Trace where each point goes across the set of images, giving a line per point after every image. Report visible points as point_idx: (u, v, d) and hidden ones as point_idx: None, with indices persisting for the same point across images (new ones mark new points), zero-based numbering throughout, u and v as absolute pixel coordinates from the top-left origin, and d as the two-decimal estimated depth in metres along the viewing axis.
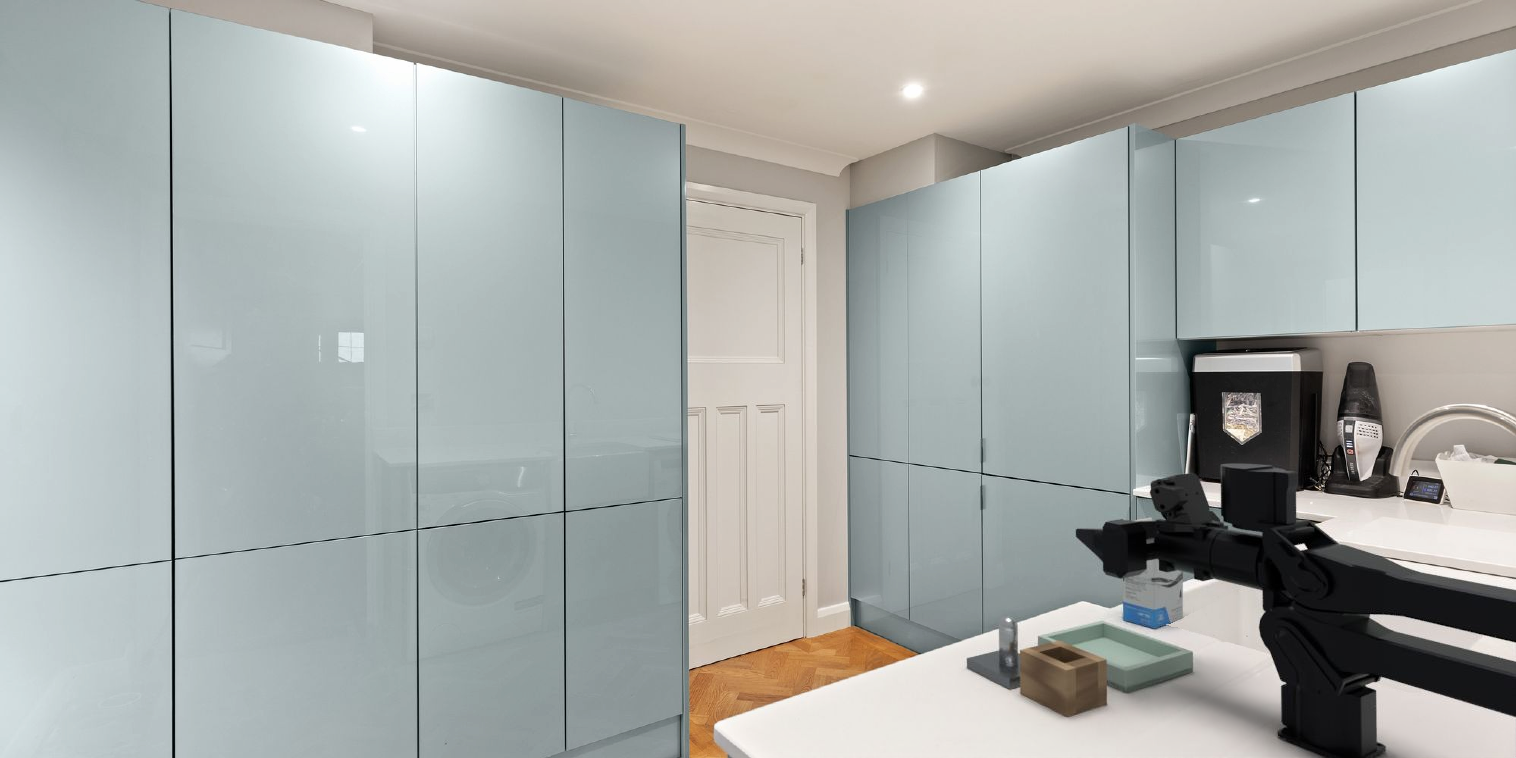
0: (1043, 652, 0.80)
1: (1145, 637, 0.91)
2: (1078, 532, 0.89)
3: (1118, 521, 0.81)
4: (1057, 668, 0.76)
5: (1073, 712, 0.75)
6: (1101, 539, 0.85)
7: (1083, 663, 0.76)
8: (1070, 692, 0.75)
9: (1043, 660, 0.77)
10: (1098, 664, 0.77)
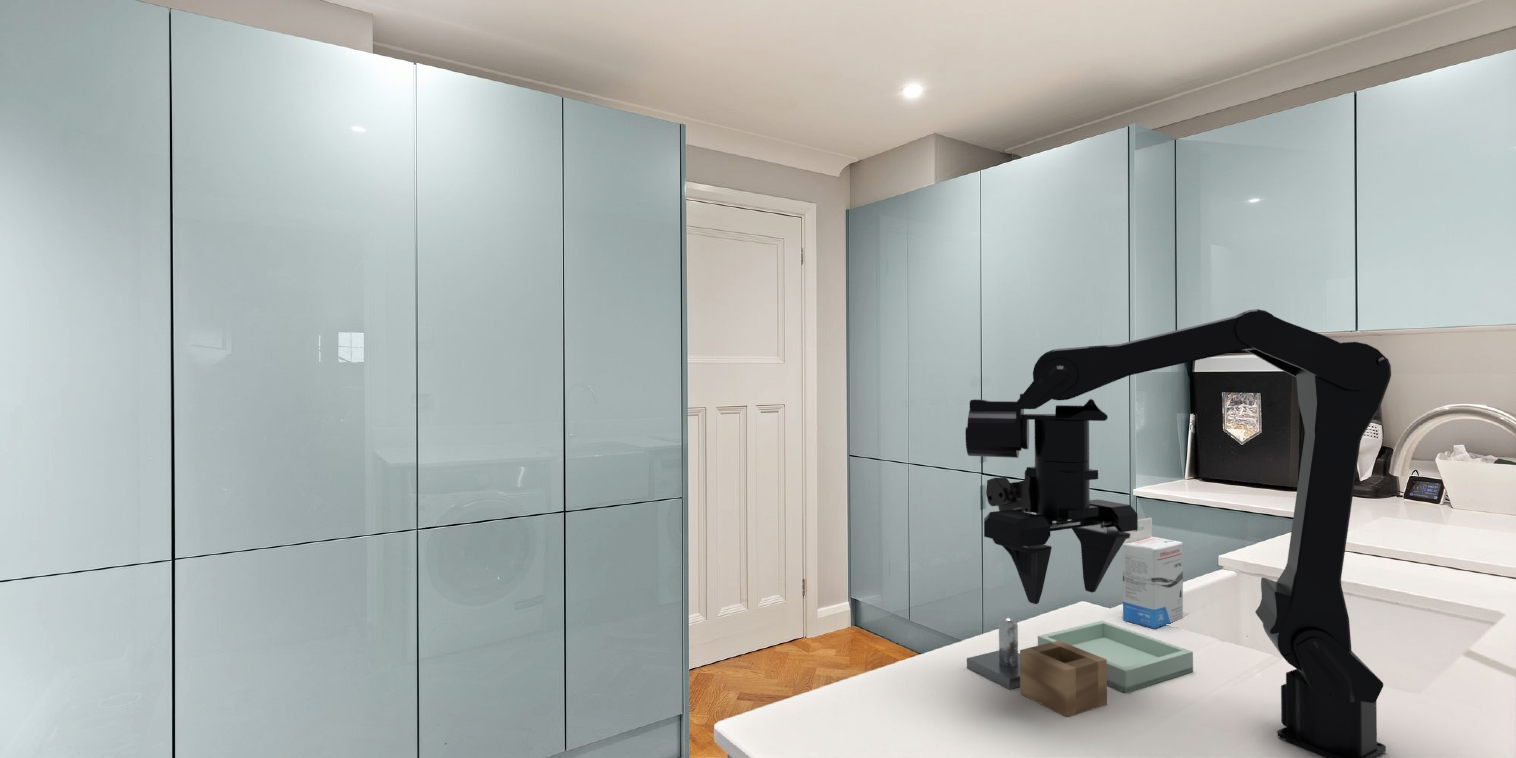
0: (1043, 652, 0.80)
1: (1145, 637, 0.91)
2: (1030, 598, 0.77)
3: None
4: (1057, 668, 0.76)
5: (1073, 712, 0.75)
6: (1024, 563, 0.77)
7: (1083, 663, 0.76)
8: (1070, 692, 0.75)
9: (1043, 660, 0.77)
10: (1098, 664, 0.77)
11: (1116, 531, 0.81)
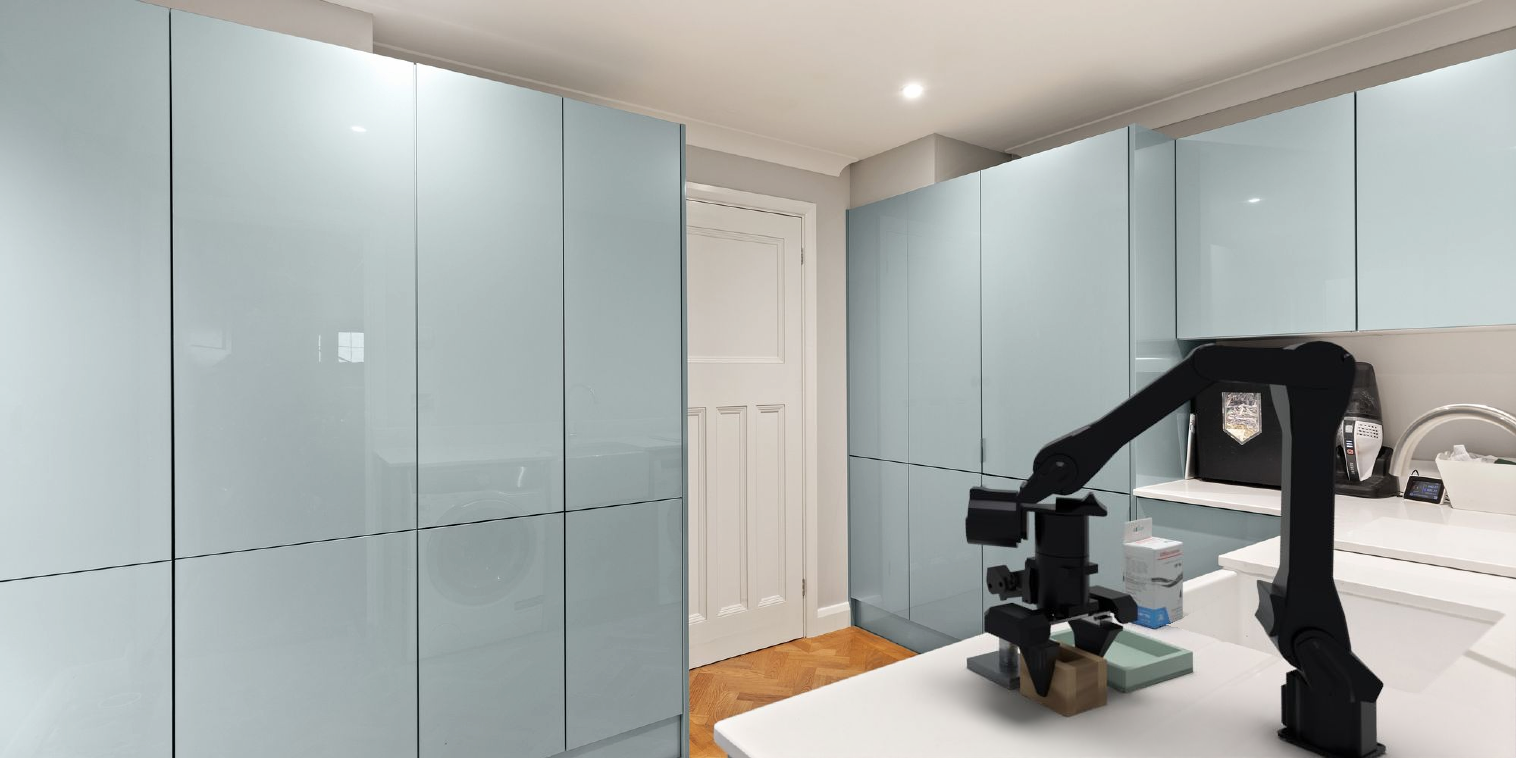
0: None
1: (1145, 637, 0.91)
2: (1038, 690, 0.77)
3: None
4: (1057, 668, 0.76)
5: (1073, 712, 0.75)
6: (1033, 657, 0.77)
7: (1083, 663, 0.76)
8: (1070, 692, 0.75)
9: None
10: (1098, 664, 0.77)
11: (1109, 623, 0.80)
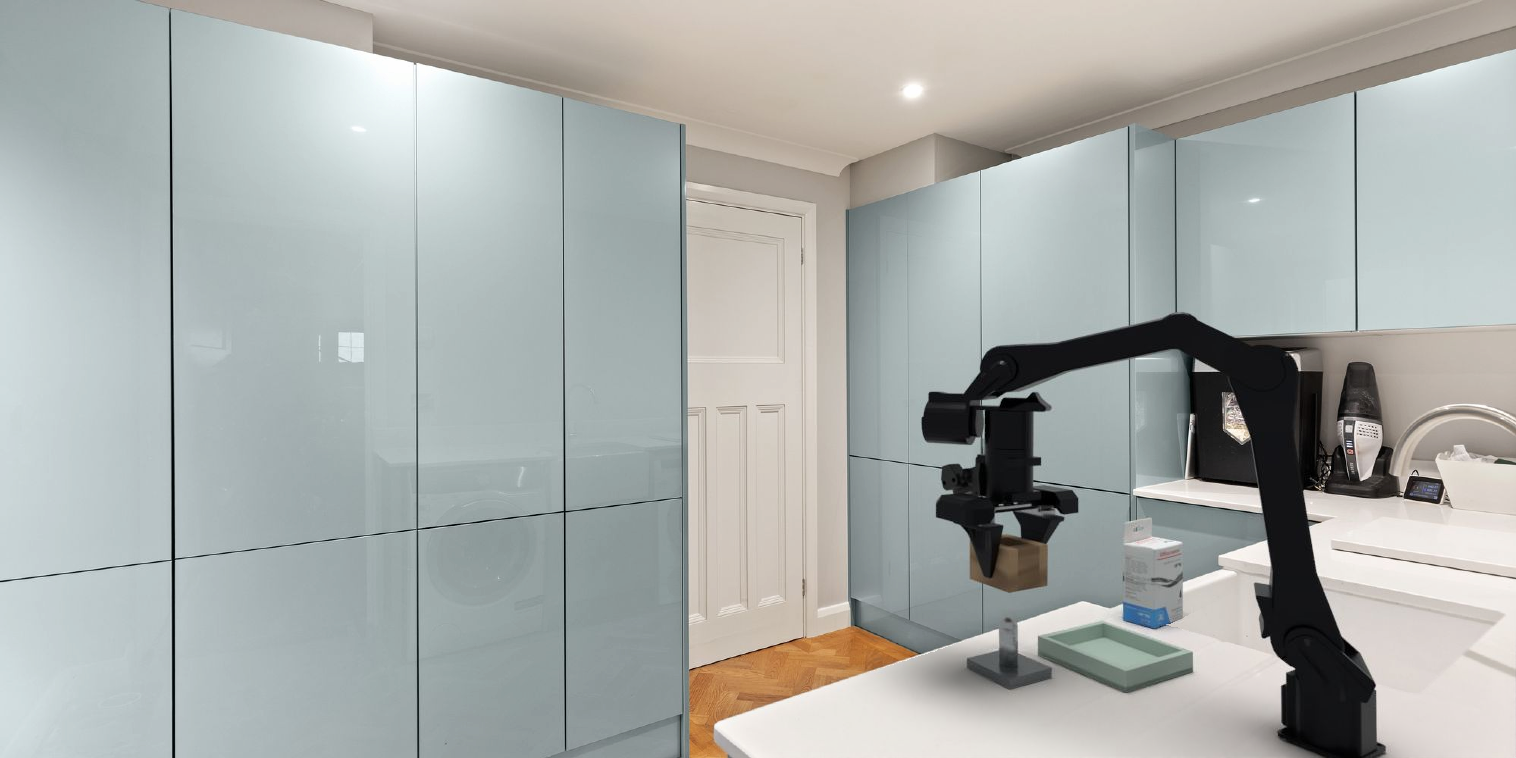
0: None
1: (1145, 637, 0.91)
2: (984, 572, 0.84)
3: None
4: (1001, 550, 0.83)
5: (1015, 589, 0.82)
6: (980, 541, 0.84)
7: (1025, 546, 0.83)
8: (1012, 570, 0.82)
9: None
10: (1039, 548, 0.84)
11: (1052, 515, 0.87)
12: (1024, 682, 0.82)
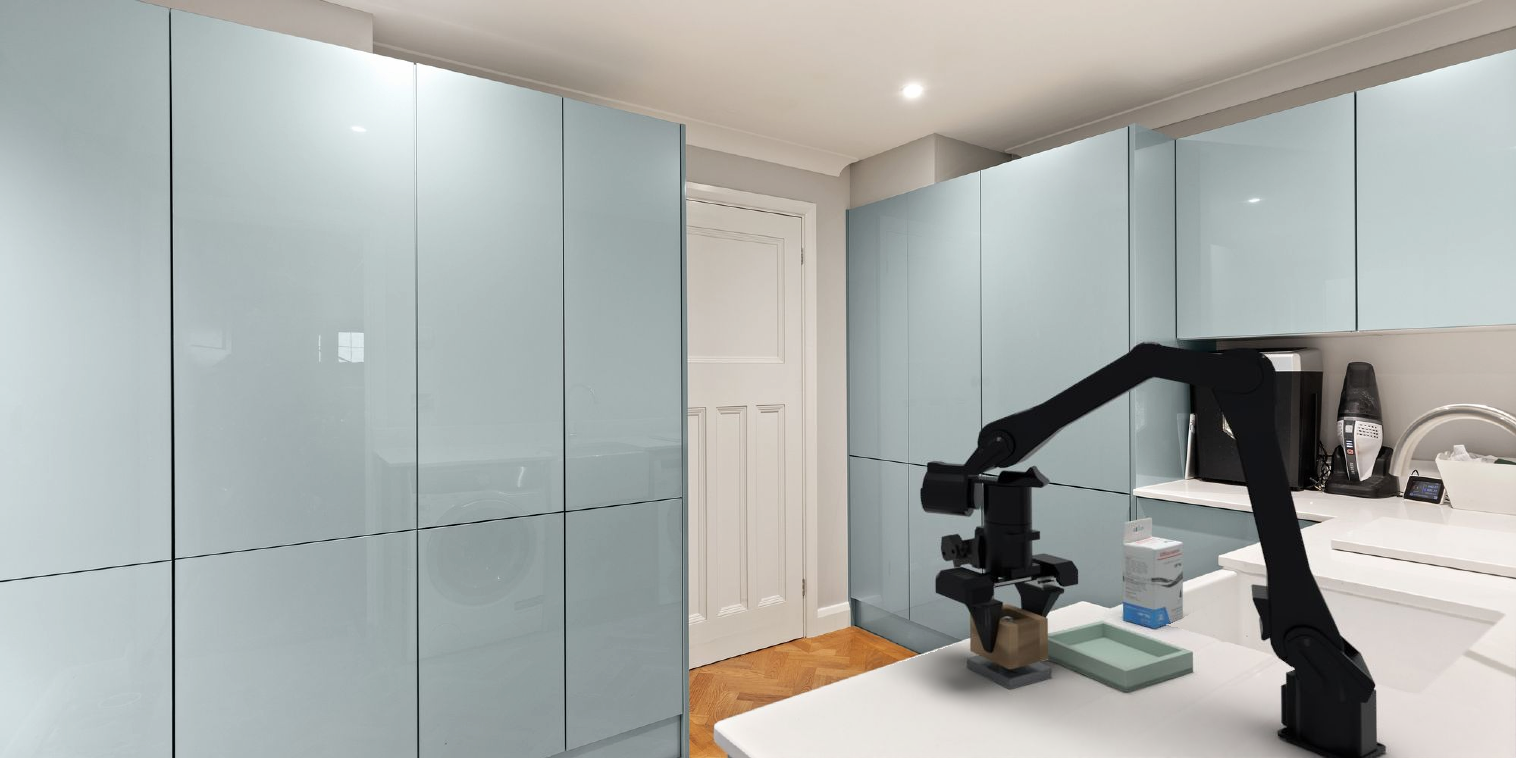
0: None
1: (1145, 637, 0.91)
2: (985, 647, 0.85)
3: None
4: (1001, 626, 0.83)
5: (1015, 665, 0.82)
6: (980, 616, 0.84)
7: (1025, 621, 0.84)
8: (1012, 647, 0.82)
9: None
10: (1039, 622, 0.84)
11: (1052, 586, 0.87)
12: (1024, 682, 0.82)
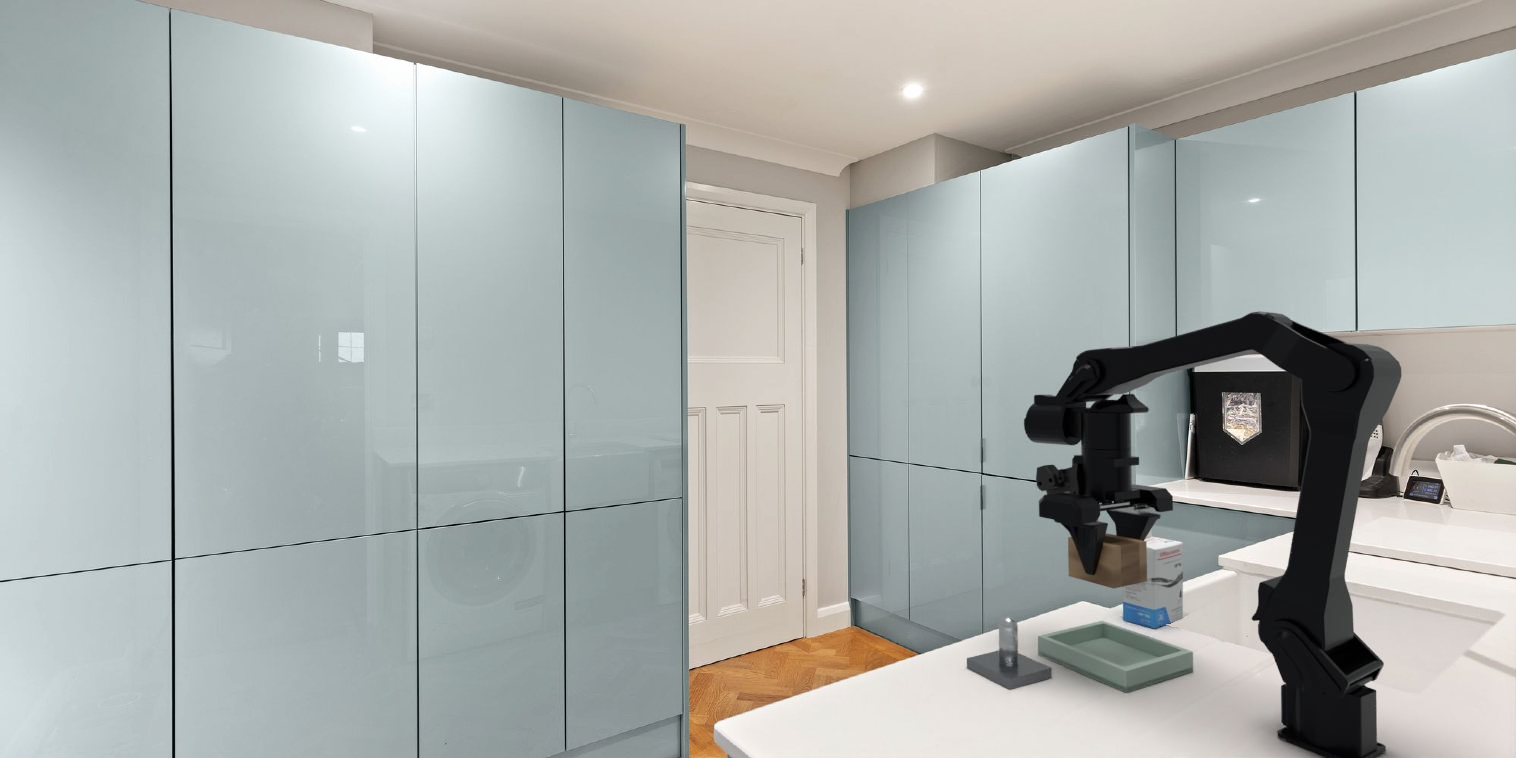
0: None
1: (1145, 637, 0.91)
2: (1087, 569, 0.87)
3: None
4: (1104, 547, 0.85)
5: (1119, 585, 0.85)
6: (1082, 539, 0.87)
7: (1126, 543, 0.86)
8: (1116, 567, 0.85)
9: None
10: (1139, 545, 0.87)
11: (1147, 513, 0.90)
12: (1024, 682, 0.82)
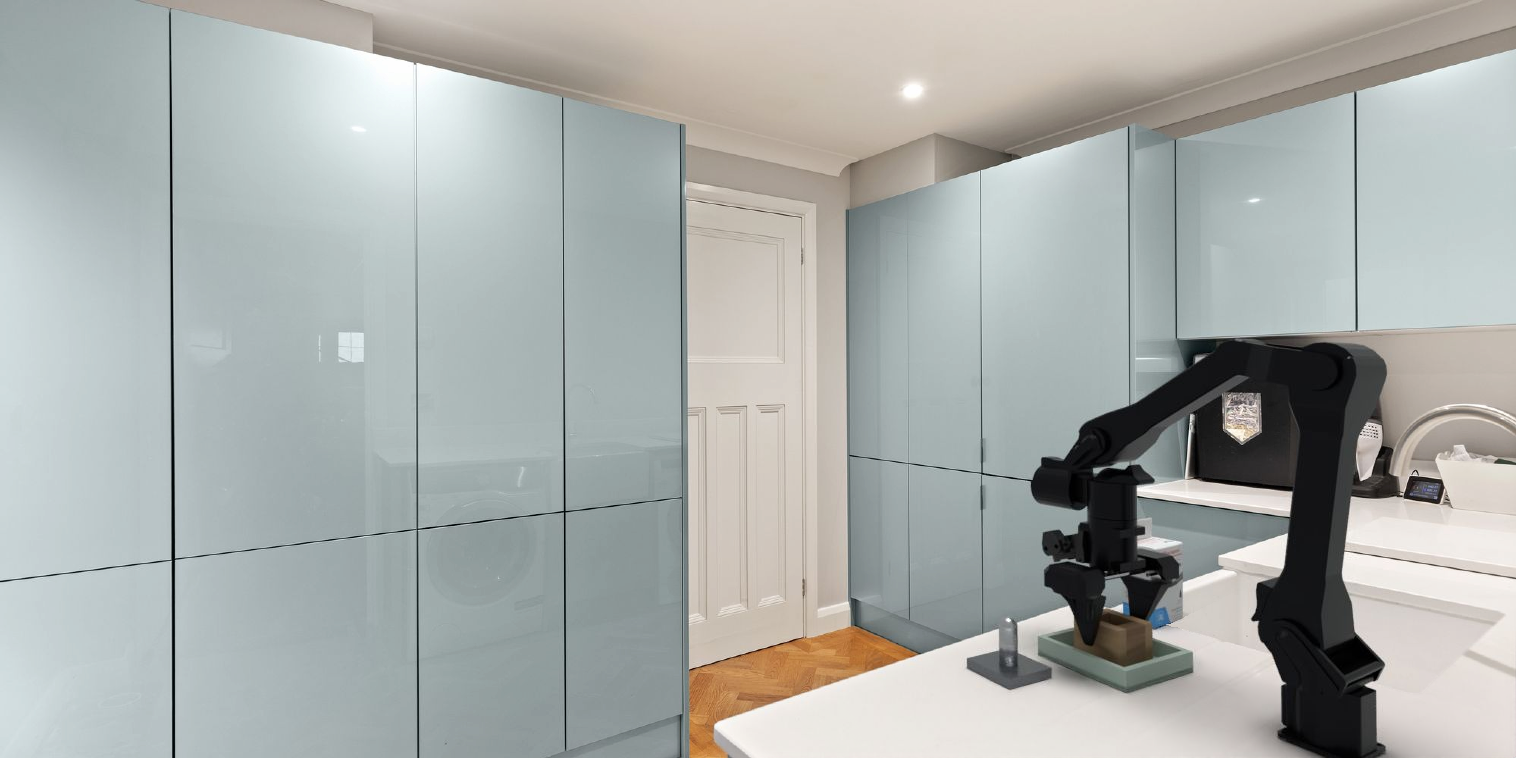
0: None
1: None
2: (1085, 640, 0.87)
3: None
4: (1109, 630, 0.86)
5: None
6: (1080, 610, 0.86)
7: (1132, 625, 0.86)
8: (1121, 650, 0.85)
9: None
10: (1145, 627, 0.87)
11: (1160, 579, 0.91)
12: (1024, 682, 0.82)
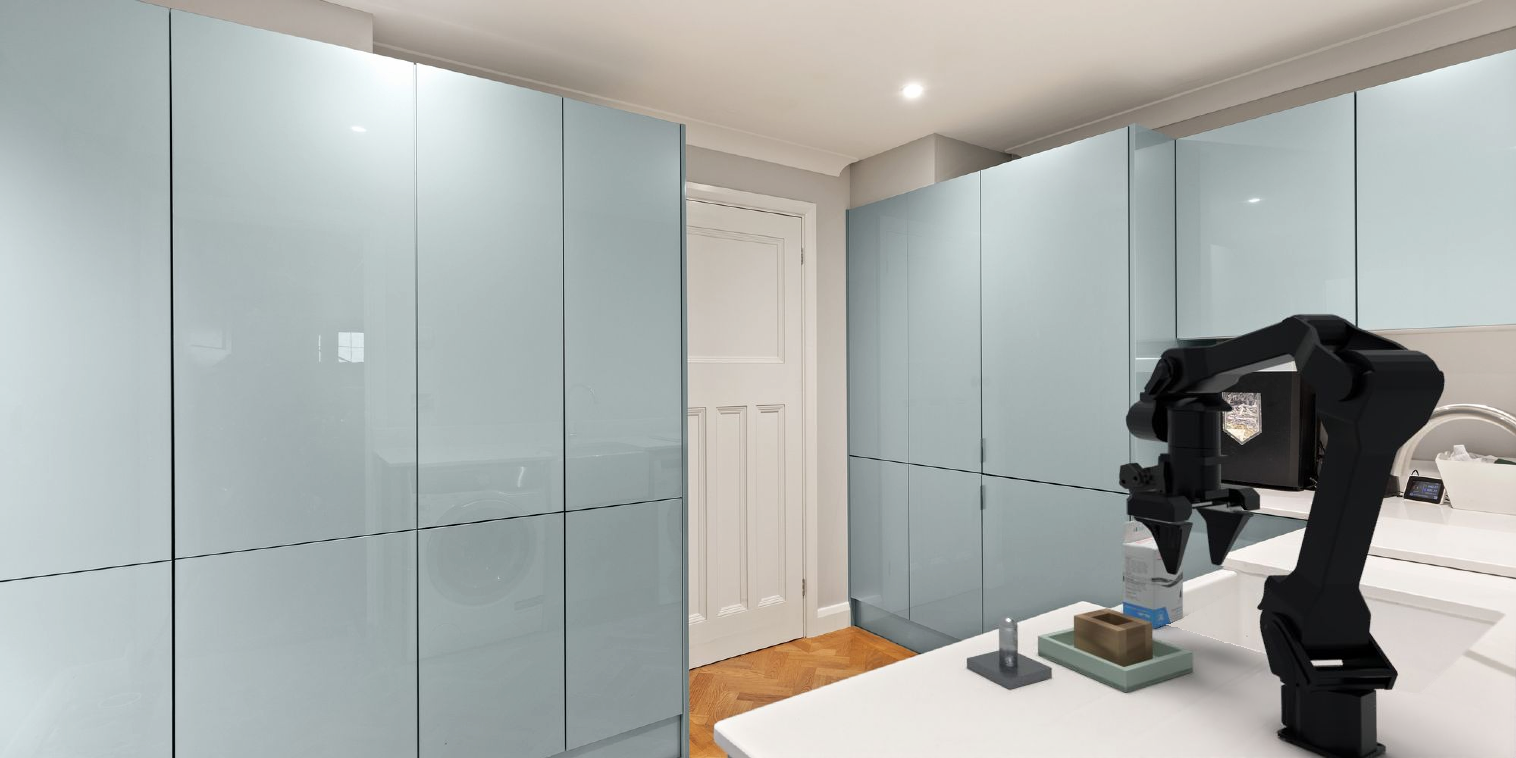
0: (1094, 617, 0.90)
1: None
2: (1168, 569, 0.86)
3: None
4: (1109, 630, 0.86)
5: None
6: (1164, 538, 0.86)
7: (1132, 625, 0.86)
8: (1121, 650, 0.85)
9: (1096, 623, 0.87)
10: (1145, 627, 0.87)
11: (1240, 510, 0.90)
12: (1024, 682, 0.82)
